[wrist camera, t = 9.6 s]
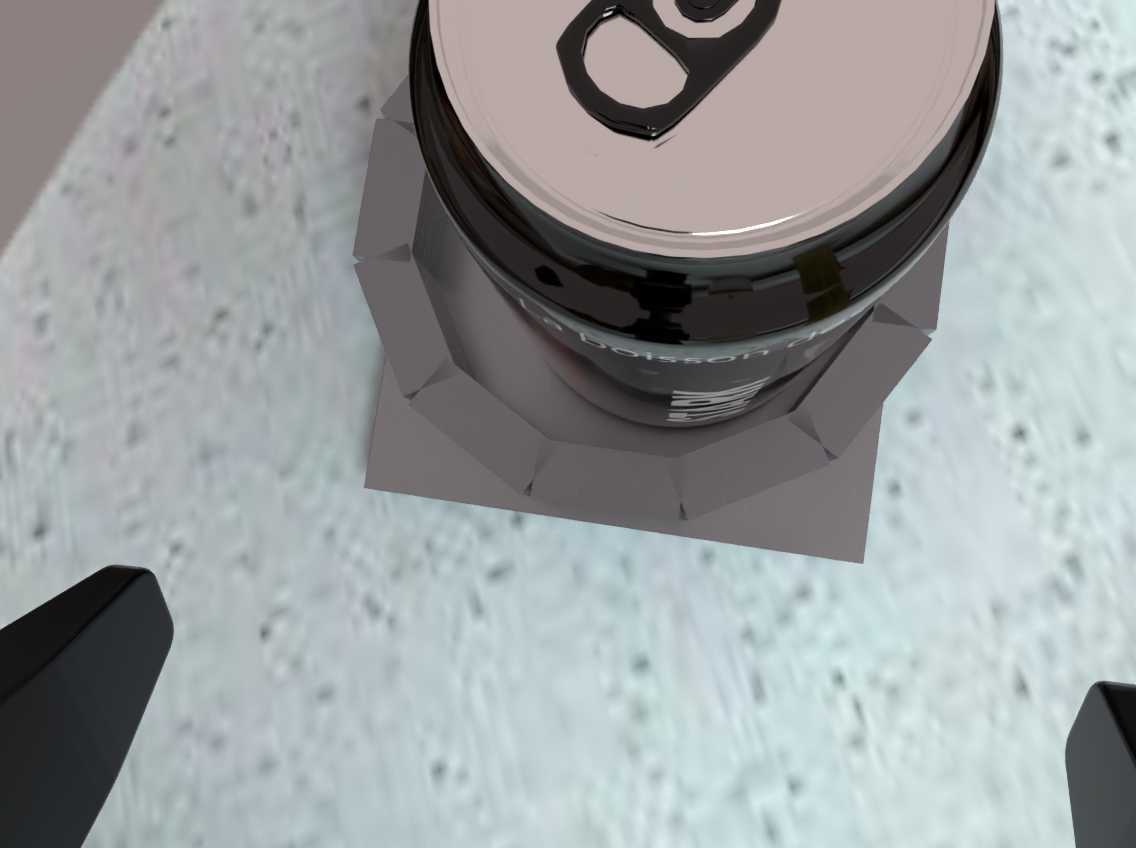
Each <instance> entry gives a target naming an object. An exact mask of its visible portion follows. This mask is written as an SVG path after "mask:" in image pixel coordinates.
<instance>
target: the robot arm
mask: <svg viewBox="0 0 1136 848" xmlns="http://www.w3.org/2000/svg"><path fill="white" fill-rule="evenodd" d="M173 634H174V627H173V621H172V618H171V615H170V612H169V610H168V607H167V605H166V602H165V599H164V597H163V594H162V592H161V589H160V586H159V584H158V581H157V579H156V577H155V575H154V574H153V573H152V572H151V571H150V570H149V569H147V568H143V567H135V566H126V565H110V566H107V567H105V568H103V569H101V570H99V571H97V572H96V573H94V574H92V575H91V576H89V577H87V578H86V579H84V580H82V581H81V582H79V583H77V584H76V585H74V586H72V587H71V588H69V589H67V590H66V591H64V592H62V593H61V594H59V595H57V596H56V597H54V598H52V599H51V600H49V601H47V602H46V603H44V604H42V605H41V606H39V607H37V608H36V609H34V610H32V611H31V612H29V613H27V614H26V615H24V616H22V617H21V618H19V619H17V620H16V621H14V622H12V623H11V624H9V625H7V626H6V627H4V628H2V629H1V630H0V848H81V846H82V845H83V843H84V841H85V839H86V837H87V835H88V833H89V831H90V829H91V828H92V826H93V824H94V822H95V820H96V818H97V816H98V814H99V812H100V811H101V809H102V807H103V805H104V803H105V801H106V799H107V797H108V795H109V793H110V791H111V789H112V787H113V785H114V783H115V781H116V779H117V777H118V774H119V772H120V770H121V768H122V765H123V763H124V761H125V758H126V756H127V754H128V751H129V749H130V746H131V744H132V741H133V739H134V736H135V734H136V731H137V729H138V726H139V724H140V722H141V719H142V717H143V714H144V712H145V709H146V707H147V704H148V702H149V699H150V697H151V694H152V692H153V690H154V687H155V685H156V682H157V680H158V677H159V675H160V672H161V670H162V667H163V665H164V662H165V660H166V658H167V655H168V653H169V650H170V648H171V644H172V640H173ZM1065 763H1066V772H1067V780H1068V788H1069V796H1070V804H1071V812H1072V820H1073V828H1074V836H1075V845H1076V848H1136V685H1135V684H1127V683H1119V682H1110V681H1098V682H1096V683H1095V684H1093V685H1092V686H1091V688H1090V689H1089V691H1088V693H1087V695H1086V697H1085V699H1084V702H1083V704H1082V706H1081V708H1080V711H1079V713H1078V715H1077V717H1076V719H1075V722H1074V724H1073V726H1072V728H1071V731H1070V733H1069V735H1068V738H1067V743H1066V750H1065Z"/></svg>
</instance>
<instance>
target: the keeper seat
mask: <svg viewBox="0 0 1136 848" xmlns="http://www.w3.org/2000/svg"><path fill="white" fill-rule="evenodd" d="M381 112H382V113H383V115H384V116H385V118H386V119H387V120H383V119H376V123H375V129H374V135H373V141H372V146H371V152H370V158H369V164H368V170H367V175H366V181H365V187H364V193H363V199H362V204H361V210H360V216H359V222H358V228H357V233H356V239H355V245H354V251H353V256H354V257H355V258H356V259H357V260H358V261H360V263H357V264H355V265H354V268H355V270H356V273H357V276H358V278H359V281H360V284H361V286H362V289H363V292H364V294H365V297H366V300H367V302H368V305H369V308H370V310H371V313H372V316H373V319H374V321H375V324H376V327H377V329H378V332H379V335H380V337H381V340H382V343H383V345H384V348H385V351H386V353H387V354H386V360H385V366H384V372H383V378H382V384H381V389H380V395H379V401H378V407H377V413H376V419H375V425H374V431H373V437H372V443H371V449H370V455H369V461H368V467H367V473H366V479H365V485H364V488H369V489H375V490H382V491H388V492H395V493H402V494H408V495H415V496H421V497H428V498H434V499H441V500H448V501H454V502H461V503H467V504H474V505H480V506H487V507H493V508H500V509H507V510H513V511H520V512H526V513H533V514H539V515H546V516H552V517H559V518H566V519H572V520H579V521H585V522H592V523H598V524H605V525H612V526H618V527H625V528H631V529H638V530H644V531H651V532H657V533H664V534H671V535H677V536H684V537H690V538H697V539H703V540H710V541H717V542H723V543H730V544H736V545H743V546H749V547H756V548H762V549H769V550H776V551H782V552H789V553H795V554H802V555H808V556H815V557H821V558H828V559H835V560H841V561H848V562H854V563H861V564H863V561H864V553H865V545H866V537H867V529H868V521H869V512H870V504H871V496H872V488H873V480H874V472H875V464H876V456H877V448H878V440H879V432H880V424H881V415H882V407H883V402H884V400H885V399H886V398H887V397H888V395H889V394H890V393H891V391H892V390H893V389H894V388H895V386H896V385H897V384H898V382H899V381H900V380H901V379H902V377H903V376H904V375H905V374H906V372H907V371H908V370H909V368H910V367H911V366H912V365H913V363H914V362H915V361H916V360H917V358H918V357H919V356H920V354H921V353H922V352H923V351H924V349H925V348H926V347H927V346H928V344H929V343H930V342H931V340H932V339H931V338H930V337H928V335H929V334H931V333H932V332H934V331H935V330H936V328H937V320H938V311H939V303H940V294H941V286H942V278H943V269H944V261H945V253H946V244H947V236H948V228H949V222H948V223H947V225H946V226H945V227H944V229H943V230H942V231H941V233H940V234H939V235H938V237H937V238H936V239H935V241H934V242H933V243H932V245H931V246H930V247H929V248H928V250H927V251H926V252H925V254H924V255H923V256H922V257H921V258H920V260H919V261H918V262H917V263H916V264H915V265H914V266H913V268H912V269H911V270H910V271H909V272H908V273H907V274H906V275H905V276H904V277H903V278H902V279H901V280H900V281H899V282H898V283H897V284H896V285H895V286H894V287H892V288H891V289H890V290H889V291H888V292H887V293H886V294H885V295H884V296H883V297H882V298H881V299H880V300H879V301H878V302H877V303H876V304H875V305H874V306H873V307H872V308H871V309H870V310H868V311H867V312H866V313H865V314H864V315H863V316H862V317H861V318H860V319H859V320H858V321H857V322H856V323H855V324H854V325H853V326H852V327H851V328H850V329H849V330H848V331H847V332H845V333H844V334H843V335H842V336H841V337H840V338H839V339H838V340H837V341H836V342H835V343H834V344H833V345H832V346H831V347H830V348H829V349H828V350H827V351H826V352H825V353H824V354H823V355H821V356H820V357H819V358H818V359H817V360H816V361H815V362H814V363H813V364H812V365H811V366H810V367H809V368H808V369H807V370H806V371H805V372H804V373H802V374H801V375H800V376H799V377H798V378H797V379H795V380H794V381H793V382H792V383H791V384H790V385H788V386H787V387H786V388H785V389H783V390H782V391H781V392H779V393H778V394H777V395H775V396H774V397H772V398H771V399H769V400H768V401H766V402H765V403H763V404H761V405H760V406H758V407H756V408H754V409H752V410H750V411H748V412H746V413H744V414H741V415H739V416H737V417H734V418H731V419H728V420H725V421H721V422H717V423H713V424H708V425H702V426H695V427H660V426H653V425H647V424H642V423H638V422H634V421H631V420H627V419H624V418H621V417H619V416H616V415H614V414H612V413H609V412H607V411H605V410H603V409H601V408H599V407H598V406H596V405H594V404H593V403H591V402H589V401H588V400H586V399H585V398H584V397H582V396H581V395H580V394H578V393H577V392H576V391H575V390H573V389H572V388H571V387H570V386H569V385H568V384H567V383H566V382H565V381H564V380H563V379H562V378H561V377H560V376H559V375H558V374H557V373H556V372H555V371H554V370H553V369H552V368H551V366H550V365H549V364H548V363H547V361H546V360H545V359H544V358H543V356H542V355H541V354H540V353H539V351H538V350H537V349H536V347H535V346H534V344H533V343H532V342H531V340H530V339H529V337H528V336H527V334H526V333H525V332H524V330H523V329H522V327H521V326H520V324H519V323H518V321H517V320H516V319H515V317H514V316H513V314H512V313H511V311H510V310H509V308H508V307H507V306H506V304H505V303H504V301H503V300H502V298H501V297H500V295H499V294H498V293H497V291H496V290H495V288H494V287H493V285H492V284H491V282H490V281H489V280H488V278H487V277H486V275H485V274H484V272H483V271H482V270H481V268H480V267H479V265H478V264H477V262H476V261H475V259H474V258H473V257H472V255H471V254H470V252H469V251H468V249H467V248H466V246H465V245H464V244H463V242H462V241H461V239H460V237H459V236H458V234H457V233H456V231H455V229H454V228H453V226H452V224H451V222H450V220H449V218H448V217H447V215H446V212H445V210H444V208H443V206H442V204H441V202H440V200H439V198H438V196H437V194H436V191H435V189H434V187H433V185H432V183H431V180H430V178H429V176H428V173H427V171H426V168H425V165H424V162H423V159H422V156H421V153H420V149H419V146H418V143H417V138H416V134H415V129H414V124H413V119H412V113H411V105H410V97H409V76H407V77H406V79H405V80H404V81H403V82H402V84H401V85H400V86H399V87H398V89H397V90H396V91H395V92H394V94H393V95H392V96H391V97H390V99H389V100H388V101H387V102H386V104H385V105H384V106H383V107H382V108H381Z"/></svg>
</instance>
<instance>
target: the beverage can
mask: <svg viewBox="0 0 1136 848" xmlns="http://www.w3.org/2000/svg"><path fill="white" fill-rule="evenodd" d="M408 76H409V97H410V105H411V113H412V119H413V124H414V129H415V134H416V138H417V143H418V146H419V149H420V153H421V156H422V159H423V162H424V165H425V168H426V171H427V173H428V176H429V178H430V180H431V183H432V185H433V187H434V189H435V191H436V194H437V196H438V198H439V200H440V202H441V204H442V206H443V208H444V210H445V212H446V215H447V217H448V218H449V220H450V222H451V224H452V226H453V228H454V229H455V231H456V233H457V234H458V236H459V237H460V239H461V241H462V242H463V244H464V245H465V246H466V248H467V249H468V251H469V252H470V254H471V255H472V257H473V258H474V259H475V261H476V262H477V264H478V265H479V267H480V268H481V270H482V271H483V272H484V274H485V275H486V277H487V278H488V280H489V281H490V282H491V284H492V285H493V287H494V288H495V290H496V291H497V293H498V294H499V295H500V297H501V298H502V300H503V301H504V303H505V304H506V306H507V307H508V308H509V310H510V311H511V313H512V314H513V316H514V317H515V319H516V320H517V321H518V323H519V324H520V326H521V327H522V329H523V330H524V332H525V333H526V334H527V336H528V337H529V339H530V340H531V342H532V343H533V344H534V346H535V347H536V349H537V350H538V351H539V353H540V354H541V355H542V356H543V358H544V359H545V360H546V361H547V363H548V364H549V365H550V366H551V368H552V369H553V370H554V371H555V372H556V373H557V374H558V375H559V376H560V377H561V378H562V379H563V380H564V381H565V382H566V383H567V384H568V385H569V386H570V387H571V388H572V389H573V390H575V391H576V392H577V393H578V394H580V395H581V396H582V397H584V398H585V399H586V400H588V401H589V402H591V403H593V404H594V405H596V406H598V407H599V408H601V409H603V410H605V411H607V412H609V413H612V414H614V415H616V416H619V417H621V418H624V419H627V420H631V421H634V422H638V423H642V424H647V425H653V426H660V427H695V426H702V425H708V424H713V423H717V422H721V421H725V420H728V419H731V418H734V417H737V416H739V415H741V414H744V413H746V412H748V411H750V410H752V409H754V408H756V407H758V406H760V405H761V404H763V403H765V402H766V401H768V400H769V399H771V398H772V397H774V396H775V395H777V394H778V393H779V392H781V391H782V390H783V389H785V388H786V387H787V386H788V385H790V384H791V383H792V382H793V381H794V380H795V379H797V378H798V377H799V376H800V375H801V374H802V373H804V372H805V371H806V370H807V369H808V368H809V367H810V366H811V365H812V364H813V363H814V362H815V361H816V360H817V359H818V358H819V357H820V356H821V355H823V354H824V353H825V352H826V351H827V350H828V349H829V348H830V347H831V346H832V345H833V344H834V343H835V342H836V341H837V340H838V339H839V338H840V337H841V336H842V335H843V334H844V333H845V332H847V331H848V330H849V329H850V328H851V327H852V326H853V325H854V324H855V323H856V322H857V321H858V320H859V319H860V318H861V317H862V316H863V315H864V314H865V313H866V312H867V311H868V310H870V309H871V308H872V307H873V306H874V305H875V304H876V303H877V302H878V301H879V300H880V299H881V298H882V297H883V296H884V295H885V294H886V293H887V292H888V291H889V290H890V289H891V288H892V287H894V286H895V285H896V284H897V283H898V282H899V281H900V280H901V279H902V278H903V277H904V276H905V275H906V274H907V273H908V272H909V271H910V270H911V269H912V268H913V266H914V265H915V264H916V263H917V262H918V261H919V260H920V258H921V257H922V256H923V255H924V254H925V252H926V251H927V250H928V248H929V247H930V246H931V245H932V243H933V242H934V241H935V239H936V238H937V237H938V235H939V234H940V233H941V231H942V230H943V229H944V227H945V226H946V225H947V223H948V222H949V221H950V219H951V218H952V216H953V215H954V213H955V212H956V210H957V209H958V207H959V205H960V204H961V202H962V200H963V199H964V197H965V195H966V194H967V192H968V190H969V188H970V186H971V184H972V182H973V180H974V178H975V176H976V174H977V171H978V169H979V167H980V165H981V162H982V160H983V157H984V155H985V152H986V150H987V147H988V144H989V141H990V138H991V135H992V131H993V127H994V124H995V120H996V115H997V111H998V106H999V100H1000V94H1001V86H1002V76H1003V36H1002V24H1001V17H1000V10H999V4H998V0H418V3H417V7H416V11H415V15H414V20H413V25H412V32H411V39H410V49H409V66H408Z"/></svg>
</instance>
